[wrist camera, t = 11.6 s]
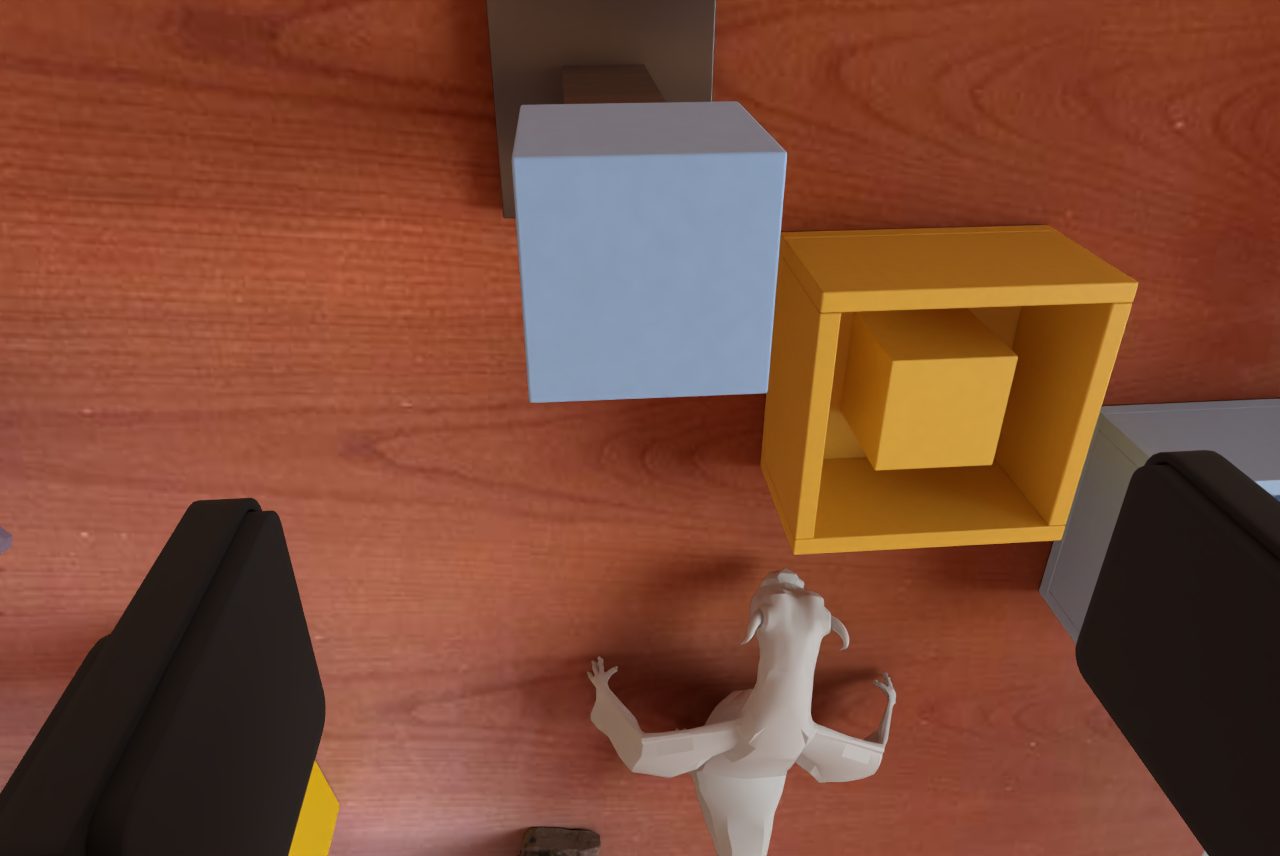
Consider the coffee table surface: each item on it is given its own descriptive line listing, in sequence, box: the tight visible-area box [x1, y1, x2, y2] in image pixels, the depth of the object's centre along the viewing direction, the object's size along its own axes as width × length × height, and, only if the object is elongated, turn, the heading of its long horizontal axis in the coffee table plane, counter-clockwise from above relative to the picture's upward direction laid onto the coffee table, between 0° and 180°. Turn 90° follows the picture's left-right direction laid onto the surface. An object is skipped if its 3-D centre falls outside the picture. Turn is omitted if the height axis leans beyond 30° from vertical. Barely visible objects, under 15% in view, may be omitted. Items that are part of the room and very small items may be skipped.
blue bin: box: [1039, 399, 1280, 644], centre depth 43 cm, size 12×12×7 cm
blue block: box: [512, 101, 787, 403], centre depth 19 cm, size 5×5×5 cm
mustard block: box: [841, 308, 1018, 470], centre depth 37 cm, size 5×5×5 cm
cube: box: [288, 761, 340, 856], centre depth 47 cm, size 8×8×8 cm
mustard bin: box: [760, 225, 1138, 555], centre depth 37 cm, size 12×12×7 cm
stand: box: [486, 0, 716, 218], centre depth 27 cm, size 8×8×14 cm
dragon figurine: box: [587, 569, 896, 856], centre depth 46 cm, size 15×15×9 cm
